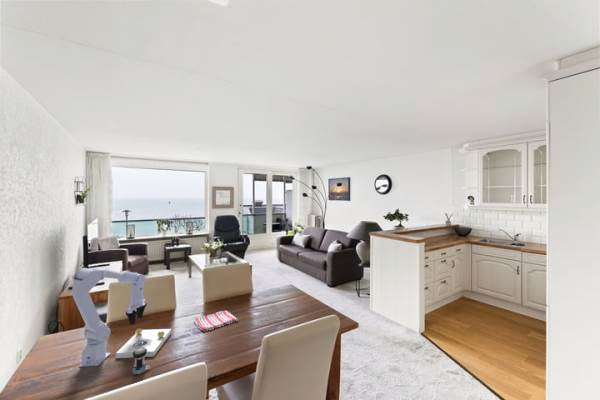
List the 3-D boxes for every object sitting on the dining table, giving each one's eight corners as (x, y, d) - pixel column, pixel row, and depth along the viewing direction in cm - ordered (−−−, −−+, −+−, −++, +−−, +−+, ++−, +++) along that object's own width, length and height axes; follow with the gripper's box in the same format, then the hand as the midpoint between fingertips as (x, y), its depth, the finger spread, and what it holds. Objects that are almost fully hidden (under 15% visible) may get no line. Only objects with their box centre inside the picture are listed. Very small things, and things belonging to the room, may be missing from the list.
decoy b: (162, 338, 134) (162, 332, 134) (156, 339, 133) (156, 333, 133) (165, 335, 137) (165, 329, 137) (158, 335, 136) (159, 329, 136)
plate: (153, 356, 122) (153, 351, 122) (115, 358, 120) (116, 353, 120) (171, 333, 144) (171, 328, 144) (139, 334, 142) (139, 329, 142)
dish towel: (192, 322, 158) (192, 317, 158) (227, 312, 174) (227, 307, 174) (202, 333, 146) (202, 327, 146) (239, 322, 161) (239, 316, 161)
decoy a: (140, 335, 136) (140, 329, 136) (134, 336, 136) (134, 330, 136) (143, 332, 139) (143, 327, 139) (137, 333, 139) (137, 327, 139)
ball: (143, 345, 126) (146, 340, 130) (136, 345, 126) (140, 340, 130) (143, 351, 127) (147, 345, 130) (137, 350, 127) (141, 345, 130)
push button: (149, 366, 115) (150, 344, 115) (149, 373, 111) (150, 350, 111) (132, 370, 112) (133, 347, 112) (131, 377, 107) (132, 354, 108)
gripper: (138, 300, 131) (137, 327, 131) (151, 291, 145) (150, 314, 145) (123, 301, 130) (122, 327, 130) (138, 291, 144) (137, 315, 144)
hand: (136, 320), depth 137 cm, fingers open, 7 cm apart
